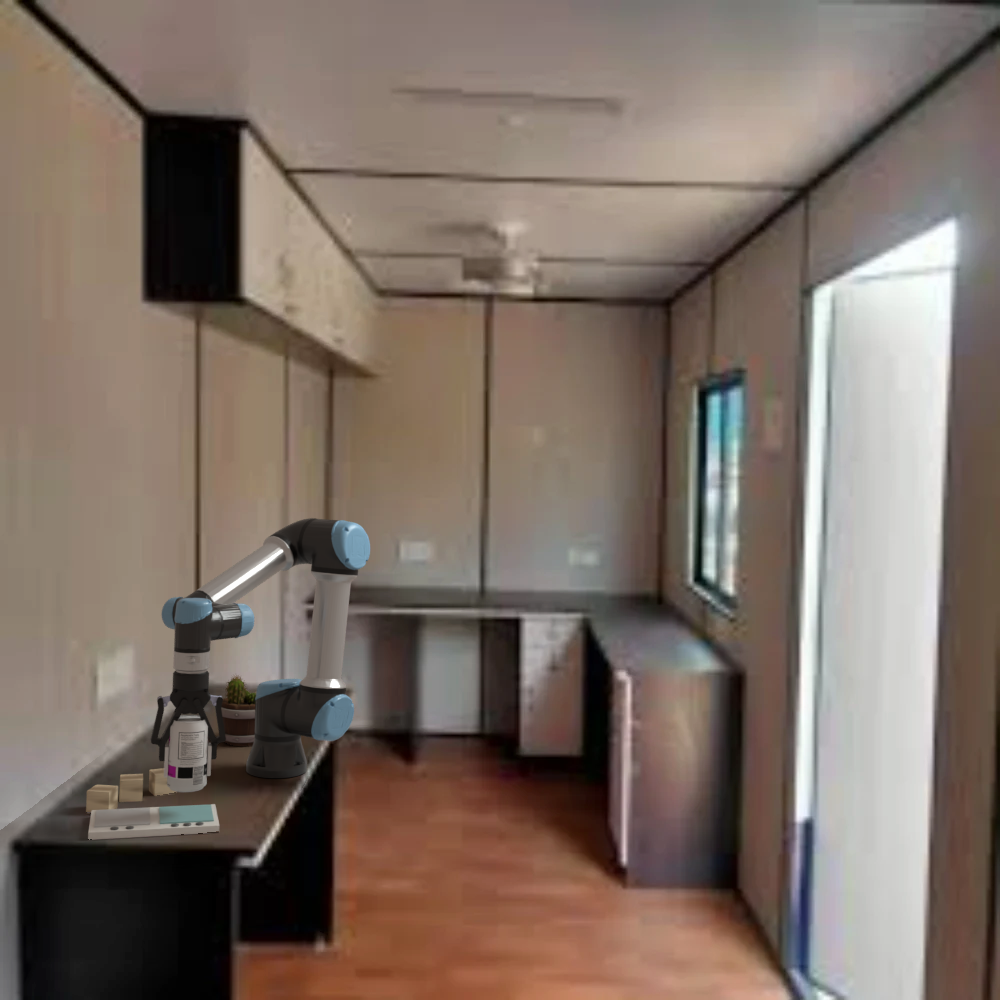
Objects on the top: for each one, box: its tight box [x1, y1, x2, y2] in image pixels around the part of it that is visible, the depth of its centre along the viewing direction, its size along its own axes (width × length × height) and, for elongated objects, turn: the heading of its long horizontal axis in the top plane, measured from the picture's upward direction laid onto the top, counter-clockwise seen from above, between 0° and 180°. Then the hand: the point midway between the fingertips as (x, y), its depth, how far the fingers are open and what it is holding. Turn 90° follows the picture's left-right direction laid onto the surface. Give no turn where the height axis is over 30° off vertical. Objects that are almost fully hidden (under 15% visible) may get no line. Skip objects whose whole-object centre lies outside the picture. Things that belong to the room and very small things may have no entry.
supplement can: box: [167, 714, 209, 793], centre depth 241 cm, size 8×8×15 cm
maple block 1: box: [85, 784, 119, 813], centre depth 247 cm, size 5×5×5 cm
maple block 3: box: [148, 767, 177, 797], centre depth 262 cm, size 5×5×5 cm
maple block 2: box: [118, 773, 144, 803], centre depth 256 cm, size 5×5×5 cm
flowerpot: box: [221, 674, 256, 747], centre depth 311 cm, size 14×15×20 cm
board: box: [87, 803, 220, 841], centre depth 239 cm, size 15×26×2 cm, turn 108°
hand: (187, 774), depth 242 cm, fingers closed on supplement can, 8 cm apart
